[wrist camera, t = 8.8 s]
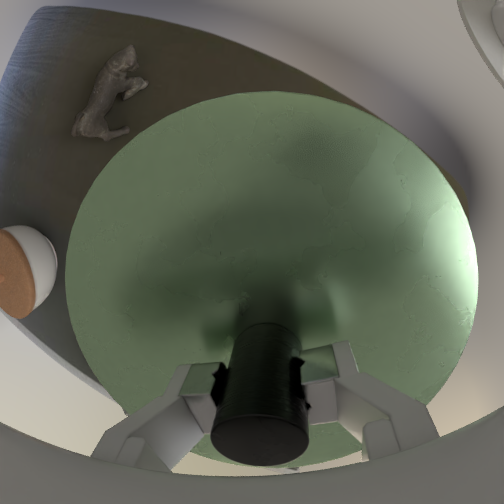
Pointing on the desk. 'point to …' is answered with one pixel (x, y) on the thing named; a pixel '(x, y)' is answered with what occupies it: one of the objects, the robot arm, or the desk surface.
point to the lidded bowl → (25, 269)
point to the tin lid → (270, 265)
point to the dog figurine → (109, 95)
